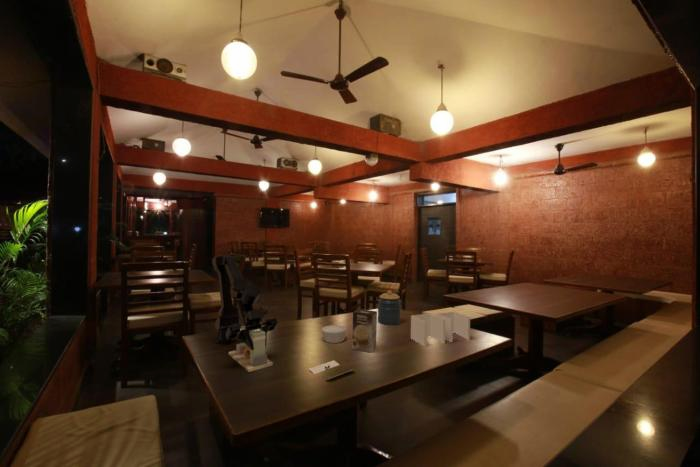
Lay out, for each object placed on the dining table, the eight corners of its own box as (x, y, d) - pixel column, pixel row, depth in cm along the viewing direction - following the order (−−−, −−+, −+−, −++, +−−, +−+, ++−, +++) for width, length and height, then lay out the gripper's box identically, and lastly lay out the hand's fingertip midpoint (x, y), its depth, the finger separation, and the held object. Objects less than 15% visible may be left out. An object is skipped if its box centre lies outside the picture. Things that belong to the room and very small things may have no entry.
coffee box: (351, 349, 134) (351, 311, 134) (357, 344, 140) (357, 308, 139) (371, 353, 130) (372, 314, 130) (377, 348, 136) (377, 310, 136)
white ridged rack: (235, 352, 127) (235, 344, 127) (247, 349, 130) (247, 341, 130) (254, 367, 113) (254, 358, 113) (267, 363, 116) (267, 354, 116)
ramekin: (317, 342, 143) (317, 330, 143) (328, 334, 153) (328, 323, 153) (340, 345, 139) (340, 333, 138) (349, 337, 149) (349, 326, 149)
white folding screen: (454, 333, 157) (454, 311, 157) (469, 340, 147) (470, 317, 147) (410, 339, 148) (411, 315, 148) (424, 347, 138) (424, 321, 138)
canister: (376, 324, 171) (377, 291, 171) (378, 318, 183) (378, 287, 183) (401, 326, 168) (401, 292, 168) (401, 319, 181) (401, 288, 181)
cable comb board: (228, 354, 127) (228, 351, 127) (250, 349, 133) (250, 346, 133) (249, 371, 111) (249, 369, 111) (272, 365, 117) (272, 362, 117)
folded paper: (334, 363, 121) (334, 358, 121) (355, 374, 112) (355, 368, 112) (307, 371, 113) (307, 366, 113) (328, 384, 104) (328, 378, 104)
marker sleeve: (250, 362, 116) (250, 332, 116) (261, 359, 119) (261, 330, 119) (253, 365, 114) (253, 334, 114) (265, 362, 117) (265, 332, 117)
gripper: (228, 303, 113) (240, 342, 105) (276, 296, 125) (290, 331, 117) (221, 320, 119) (231, 358, 111) (267, 312, 131) (279, 346, 123)
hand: (259, 348), depth 115 cm, fingers closed on marker sleeve, 4 cm apart
